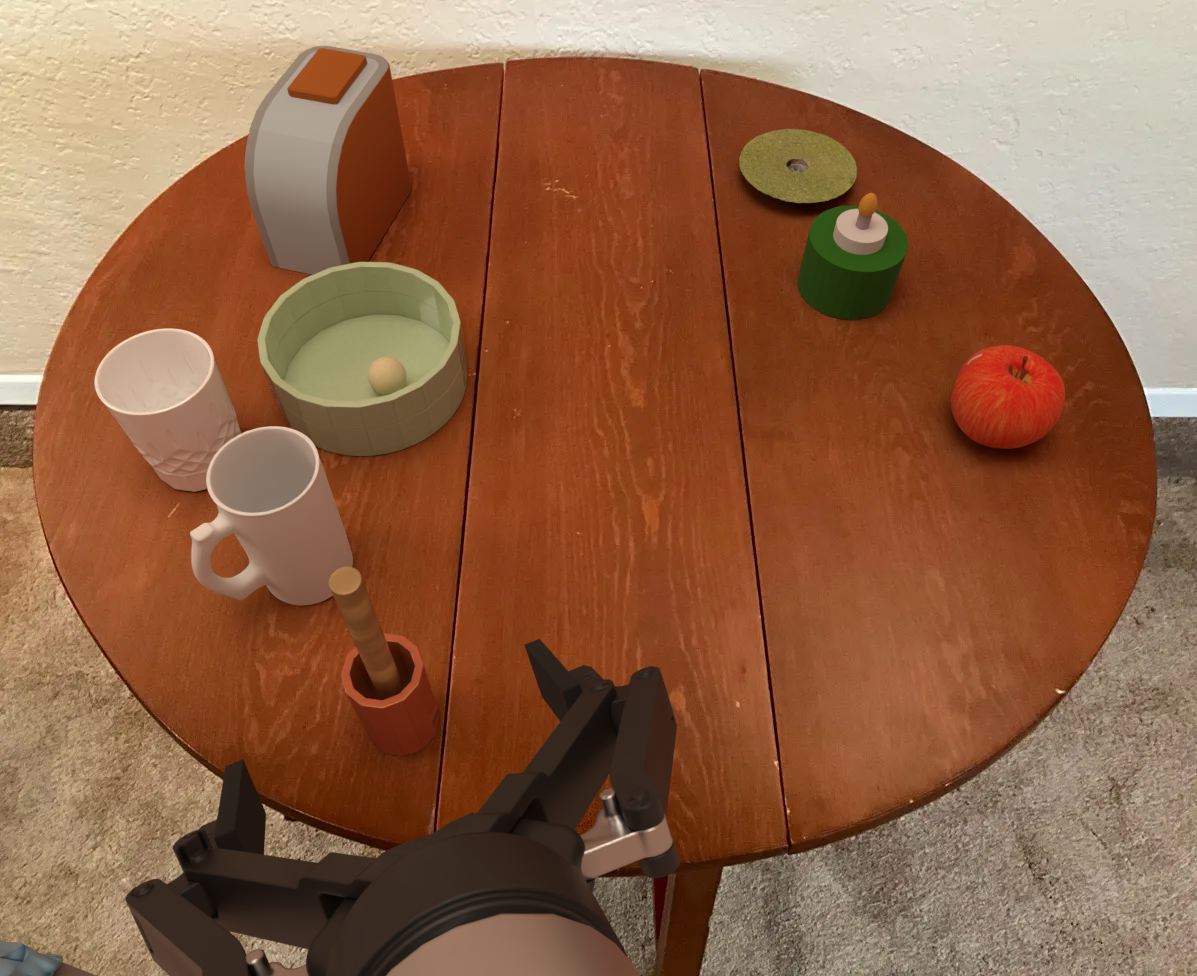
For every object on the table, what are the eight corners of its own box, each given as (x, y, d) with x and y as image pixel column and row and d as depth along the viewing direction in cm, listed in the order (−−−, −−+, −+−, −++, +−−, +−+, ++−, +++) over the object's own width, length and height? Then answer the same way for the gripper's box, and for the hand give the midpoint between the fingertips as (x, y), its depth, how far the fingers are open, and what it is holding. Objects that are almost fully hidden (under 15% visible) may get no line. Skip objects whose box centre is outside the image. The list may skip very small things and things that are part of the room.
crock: (352, 727, 62) (324, 676, 55) (402, 674, 64) (381, 619, 58) (404, 770, 60) (382, 723, 54) (454, 714, 63) (438, 662, 56)
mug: (317, 511, 71) (274, 408, 62) (377, 564, 69) (342, 465, 59) (202, 601, 67) (136, 505, 57) (262, 661, 65) (203, 572, 55)
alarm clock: (337, 165, 95) (303, 32, 83) (418, 180, 93) (395, 48, 82) (267, 265, 86) (220, 133, 75) (355, 284, 85) (320, 152, 74)
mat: (874, 177, 94) (879, 160, 93) (811, 235, 89) (815, 218, 88) (779, 131, 99) (782, 114, 97) (713, 183, 94) (715, 167, 92)
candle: (778, 282, 86) (798, 189, 78) (839, 241, 89) (865, 148, 81) (849, 334, 82) (878, 243, 74) (910, 290, 86) (945, 197, 77)
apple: (921, 434, 76) (953, 366, 70) (965, 373, 80) (999, 303, 73) (1016, 485, 74) (1058, 419, 67) (1057, 419, 77) (1101, 351, 71)
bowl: (239, 394, 78) (215, 343, 73) (373, 289, 85) (360, 236, 80) (374, 489, 73) (359, 440, 68) (505, 369, 80) (500, 317, 75)
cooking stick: (384, 720, 62) (321, 582, 47) (402, 701, 63) (345, 560, 48) (402, 735, 61) (344, 600, 46) (420, 716, 62) (368, 577, 47)
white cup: (221, 401, 77) (178, 311, 69) (274, 459, 74) (235, 373, 66) (130, 453, 74) (73, 366, 66) (181, 517, 71) (128, 434, 63)
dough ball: (363, 390, 77) (356, 365, 75) (390, 368, 79) (383, 343, 76) (390, 408, 76) (384, 383, 74) (416, 385, 78) (411, 360, 75)
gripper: (0, 1475, 20) (143, 923, 41) (960, 943, 27) (672, 692, 47) (-161, 1202, 19) (71, 767, 39) (900, 702, 25) (628, 549, 45)
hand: (399, 726), depth 43 cm, fingers open, 13 cm apart
